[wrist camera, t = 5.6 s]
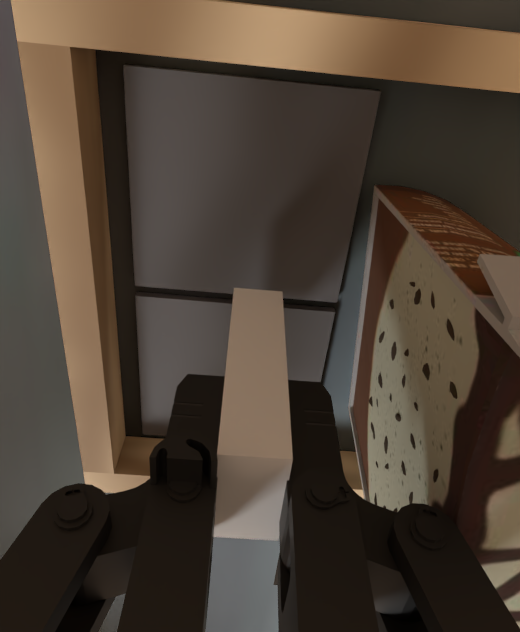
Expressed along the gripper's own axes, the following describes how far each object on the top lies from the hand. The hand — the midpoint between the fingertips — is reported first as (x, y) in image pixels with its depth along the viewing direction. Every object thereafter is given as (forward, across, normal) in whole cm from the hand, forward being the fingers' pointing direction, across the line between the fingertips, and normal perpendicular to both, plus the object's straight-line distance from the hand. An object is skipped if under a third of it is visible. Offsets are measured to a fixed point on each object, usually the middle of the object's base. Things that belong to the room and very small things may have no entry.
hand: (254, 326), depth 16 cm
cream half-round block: (+2, +7, 0) cm, 7 cm away
